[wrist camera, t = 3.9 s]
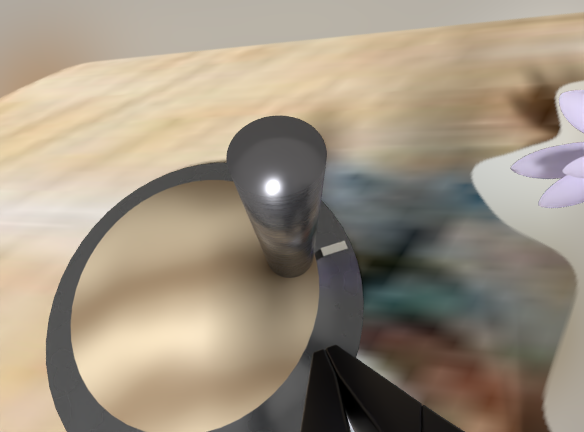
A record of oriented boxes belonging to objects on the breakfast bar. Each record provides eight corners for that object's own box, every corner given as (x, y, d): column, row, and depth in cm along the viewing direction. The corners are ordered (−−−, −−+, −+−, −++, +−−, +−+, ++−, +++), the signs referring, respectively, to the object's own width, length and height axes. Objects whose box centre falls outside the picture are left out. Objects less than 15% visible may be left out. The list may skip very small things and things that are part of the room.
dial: (354, 372, 16) (459, 430, 5) (89, 471, 15) (-505, 825, 4) (280, 169, 22) (260, 6, 11) (89, 223, 21) (-138, 93, 10)
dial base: (418, 409, 16) (425, 413, 15) (45, 556, 14) (28, 571, 13) (303, 141, 25) (303, 133, 24) (62, 208, 23) (52, 202, 22)
